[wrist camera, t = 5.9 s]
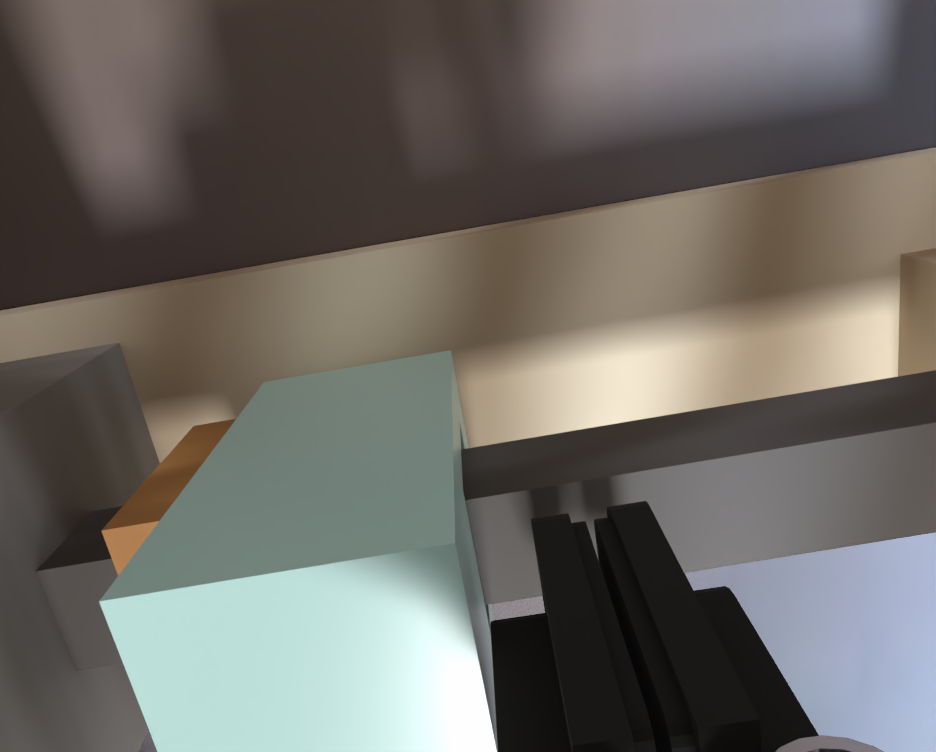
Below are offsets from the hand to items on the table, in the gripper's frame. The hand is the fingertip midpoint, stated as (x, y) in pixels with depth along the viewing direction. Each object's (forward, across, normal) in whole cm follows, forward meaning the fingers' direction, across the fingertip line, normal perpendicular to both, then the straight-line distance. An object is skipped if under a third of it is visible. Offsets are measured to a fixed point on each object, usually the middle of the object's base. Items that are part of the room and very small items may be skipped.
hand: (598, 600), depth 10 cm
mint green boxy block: (+6, +4, 0) cm, 7 cm away
